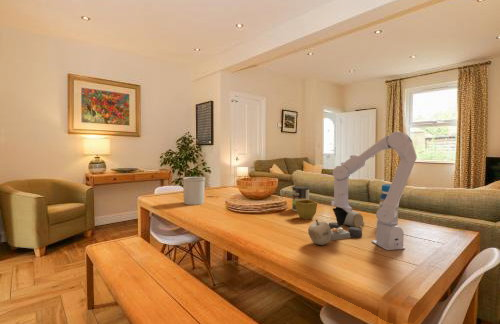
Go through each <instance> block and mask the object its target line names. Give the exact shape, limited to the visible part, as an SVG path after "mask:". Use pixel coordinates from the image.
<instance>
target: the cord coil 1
mask: <svg viewBox="0 0 500 324" xmlns="http://www.w3.org/2000/svg"><path fill="white" fill-rule="evenodd" d="M328 225H329V226H330V228H331V229H333V228H336V229H337V228H340V227H341V228H342V226H339V225H338V224H337V222H328Z"/></svg>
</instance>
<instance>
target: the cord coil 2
mask: <svg viewBox="0 0 500 324" xmlns="http://www.w3.org/2000/svg"><path fill="white" fill-rule="evenodd" d="M347 232H350V238H357V239H358V238H362V236H363V229H362V228H360V227H358V228H357V227H352V226H350V227H349V226H348V228H347Z"/></svg>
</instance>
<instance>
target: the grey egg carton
mask: <svg viewBox="0 0 500 324" xmlns="http://www.w3.org/2000/svg"><path fill="white" fill-rule="evenodd" d="M350 238H351V237H350V232H348V230H347V231H346V230H345V229H344V228H343V227H342V226H341V227H340V228H337V229H336V228H333V229H331V238H330V241H334V240H335V241H336V240H343V239H350Z"/></svg>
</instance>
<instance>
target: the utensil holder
mask: <svg viewBox="0 0 500 324" xmlns="http://www.w3.org/2000/svg"><path fill="white" fill-rule="evenodd" d="M182 181H183V187H182V188H183V204H185V205H188V206H195V205H196V206H197V205H203V204H204V203H205V186H206V185H205V183H206V177H204V176H203V177H202V176H186V177H183V178H182Z"/></svg>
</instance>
